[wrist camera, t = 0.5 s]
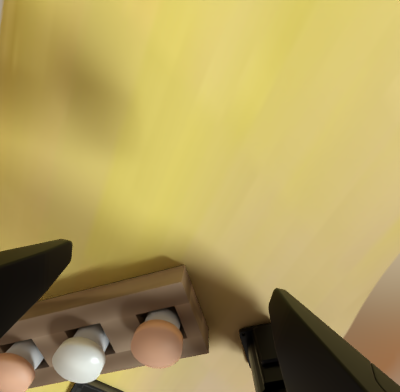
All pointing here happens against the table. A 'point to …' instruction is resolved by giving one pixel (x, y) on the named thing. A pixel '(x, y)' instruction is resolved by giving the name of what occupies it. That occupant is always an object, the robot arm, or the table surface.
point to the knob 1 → (19, 366)
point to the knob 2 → (158, 339)
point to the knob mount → (111, 319)
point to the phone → (93, 387)
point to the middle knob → (82, 355)
